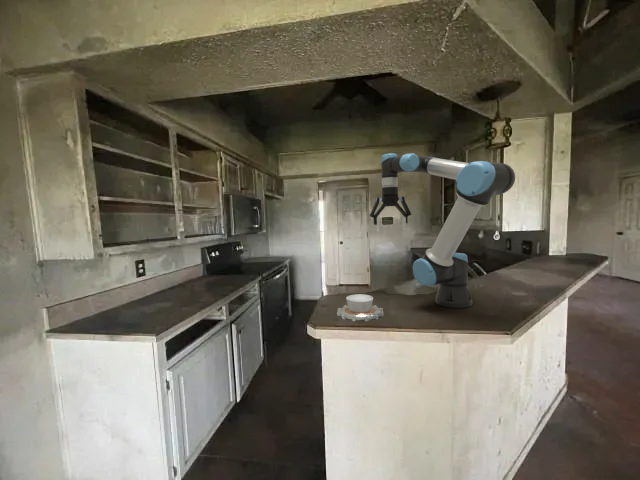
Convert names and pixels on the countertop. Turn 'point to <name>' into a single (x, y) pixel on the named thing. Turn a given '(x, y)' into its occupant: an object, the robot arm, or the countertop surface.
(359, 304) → the ramekin
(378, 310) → the plate
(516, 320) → the countertop surface
